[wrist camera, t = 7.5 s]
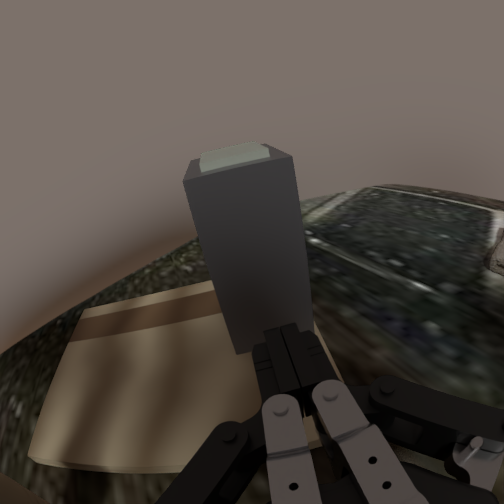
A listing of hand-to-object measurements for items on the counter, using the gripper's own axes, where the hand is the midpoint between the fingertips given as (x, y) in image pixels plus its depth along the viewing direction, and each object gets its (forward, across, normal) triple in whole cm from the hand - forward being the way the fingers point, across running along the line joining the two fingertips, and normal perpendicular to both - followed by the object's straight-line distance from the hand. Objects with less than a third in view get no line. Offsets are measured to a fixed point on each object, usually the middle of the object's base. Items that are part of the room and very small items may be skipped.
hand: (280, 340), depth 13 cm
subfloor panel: (+8, +8, +8) cm, 14 cm away
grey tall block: (+10, 0, +6) cm, 12 cm away
